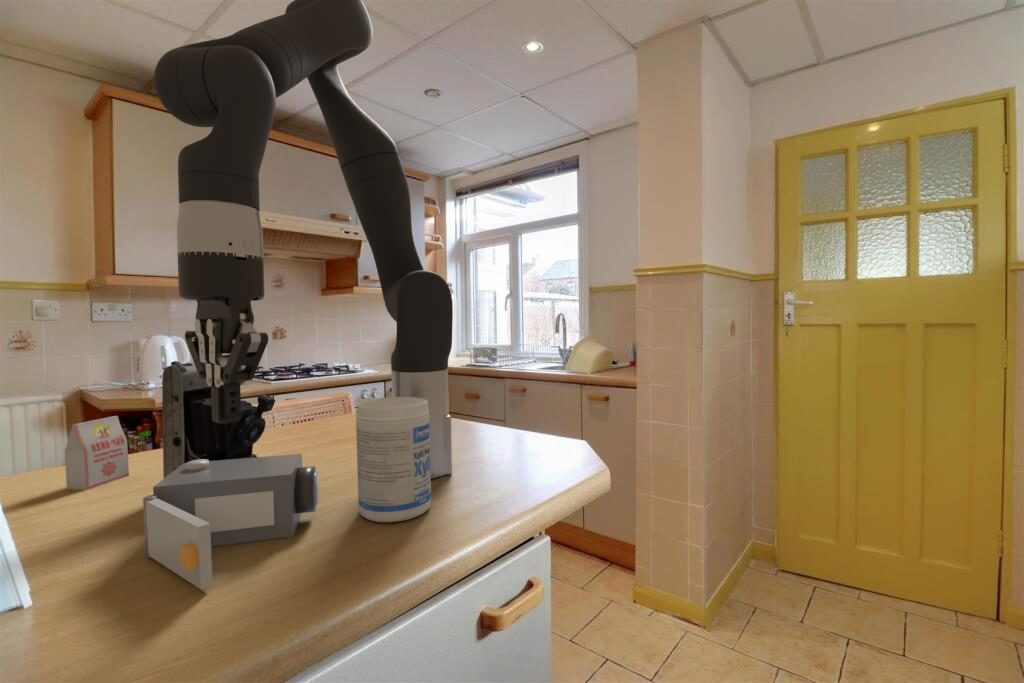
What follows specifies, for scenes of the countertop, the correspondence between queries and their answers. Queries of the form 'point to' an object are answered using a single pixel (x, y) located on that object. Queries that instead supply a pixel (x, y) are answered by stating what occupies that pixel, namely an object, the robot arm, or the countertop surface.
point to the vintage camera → (203, 421)
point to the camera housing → (244, 496)
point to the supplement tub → (393, 458)
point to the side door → (178, 541)
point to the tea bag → (96, 454)
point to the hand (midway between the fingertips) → (226, 421)
